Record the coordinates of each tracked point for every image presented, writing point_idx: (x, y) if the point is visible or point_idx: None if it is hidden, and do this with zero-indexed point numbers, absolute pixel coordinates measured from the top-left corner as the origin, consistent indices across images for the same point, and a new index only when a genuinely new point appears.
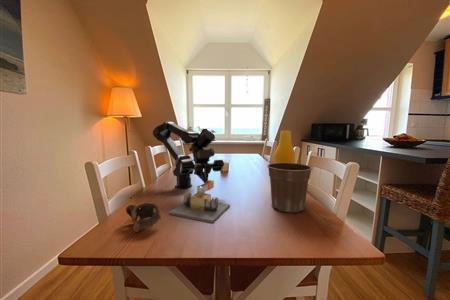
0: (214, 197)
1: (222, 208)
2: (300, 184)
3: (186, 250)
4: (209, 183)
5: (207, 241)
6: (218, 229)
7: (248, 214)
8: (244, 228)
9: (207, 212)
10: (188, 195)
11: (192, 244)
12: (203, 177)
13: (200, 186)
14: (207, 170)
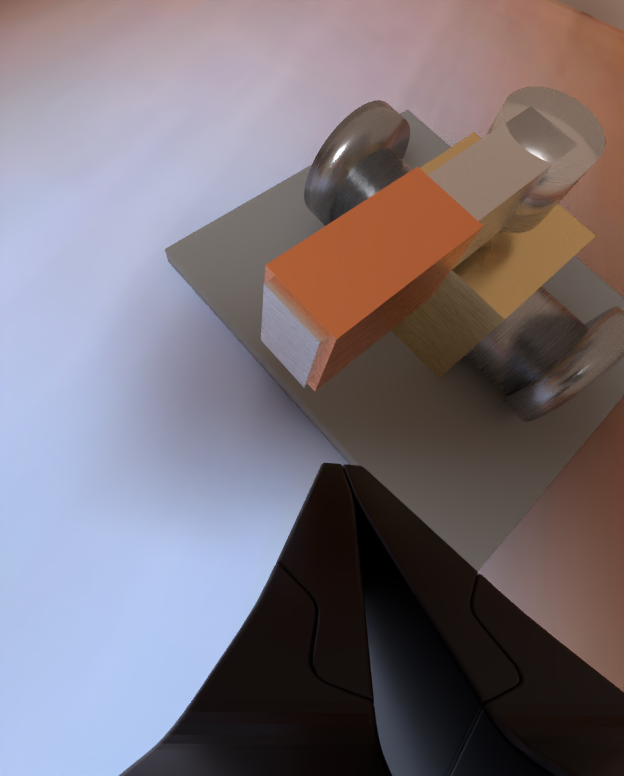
0: (374, 112)
1: (271, 212)
2: None
3: (558, 27)
4: (396, 186)
5: (473, 28)
6: (397, 68)
7: (133, 102)
8: (270, 18)
9: None
10: (600, 325)
11: (534, 41)
12: (431, 532)
13: (558, 130)
14: (282, 730)
